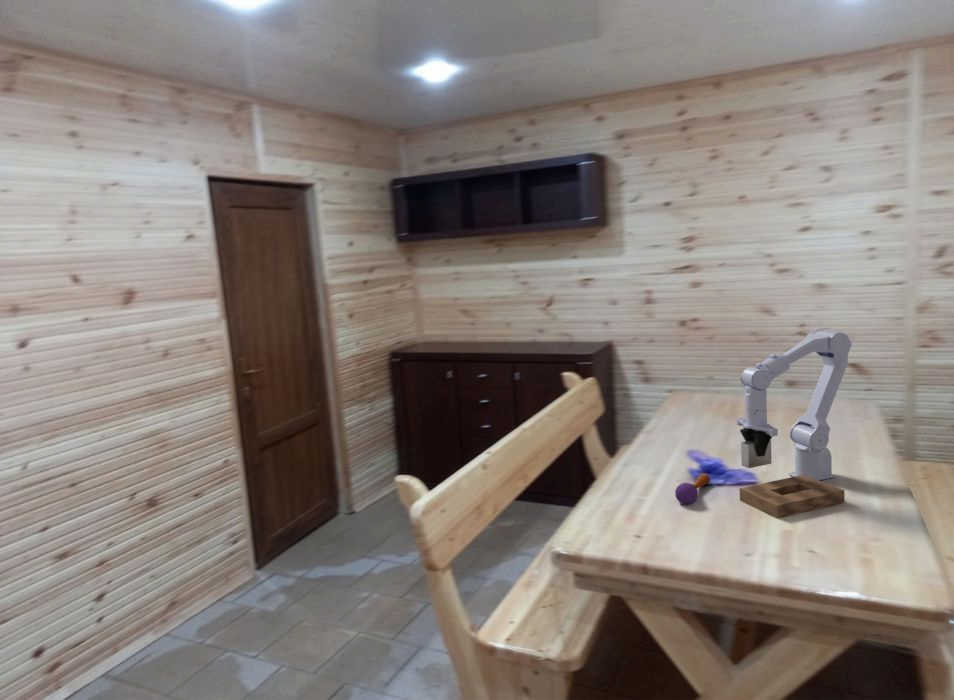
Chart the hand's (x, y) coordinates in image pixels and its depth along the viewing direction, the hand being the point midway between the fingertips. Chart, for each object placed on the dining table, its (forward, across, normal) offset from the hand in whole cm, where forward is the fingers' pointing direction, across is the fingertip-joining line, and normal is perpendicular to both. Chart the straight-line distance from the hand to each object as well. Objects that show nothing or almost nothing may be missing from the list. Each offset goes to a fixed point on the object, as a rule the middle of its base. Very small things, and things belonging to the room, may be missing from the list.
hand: (756, 454), depth 185 cm
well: (+9, +14, -1) cm, 17 cm away
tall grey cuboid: (+3, 0, 0) cm, 3 cm away
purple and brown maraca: (+10, -2, -20) cm, 22 cm away
